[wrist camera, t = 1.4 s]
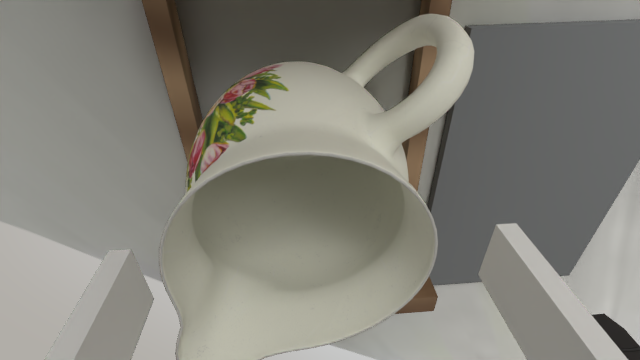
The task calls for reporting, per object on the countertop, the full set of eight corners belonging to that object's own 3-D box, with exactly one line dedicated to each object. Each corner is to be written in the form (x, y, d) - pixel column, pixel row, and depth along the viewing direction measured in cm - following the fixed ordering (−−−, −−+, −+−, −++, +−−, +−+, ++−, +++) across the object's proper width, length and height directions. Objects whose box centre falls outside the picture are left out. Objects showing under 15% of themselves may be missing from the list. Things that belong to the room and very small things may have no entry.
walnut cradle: (118, -125, 16) (1, -168, 9) (462, -130, 17) (573, -172, 10) (217, 244, 30) (197, 329, 23) (402, 231, 31) (433, 310, 24)
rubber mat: (465, 25, 21) (471, 28, 20) (712, 16, 22) (725, 19, 21) (412, 280, 35) (414, 286, 34) (563, 269, 36) (568, 275, 35)
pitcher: (460, 59, 22) (635, 183, 11) (287, 224, 29) (286, 401, 18) (336, -82, 18) (421, -116, 6) (166, 155, 25) (64, 336, 13)
